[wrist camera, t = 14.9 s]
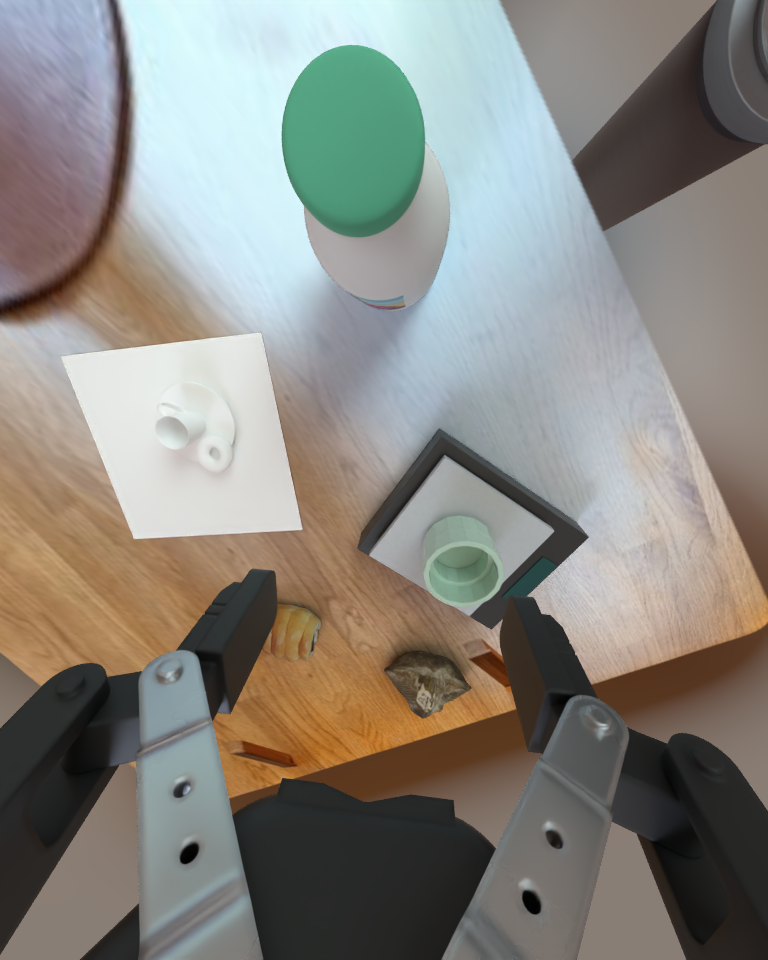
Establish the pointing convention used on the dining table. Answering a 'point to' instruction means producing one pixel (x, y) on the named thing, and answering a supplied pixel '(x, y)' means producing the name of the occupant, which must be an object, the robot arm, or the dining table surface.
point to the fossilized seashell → (427, 681)
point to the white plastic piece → (189, 436)
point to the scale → (476, 494)
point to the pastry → (293, 633)
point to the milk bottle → (366, 176)
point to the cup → (461, 562)
